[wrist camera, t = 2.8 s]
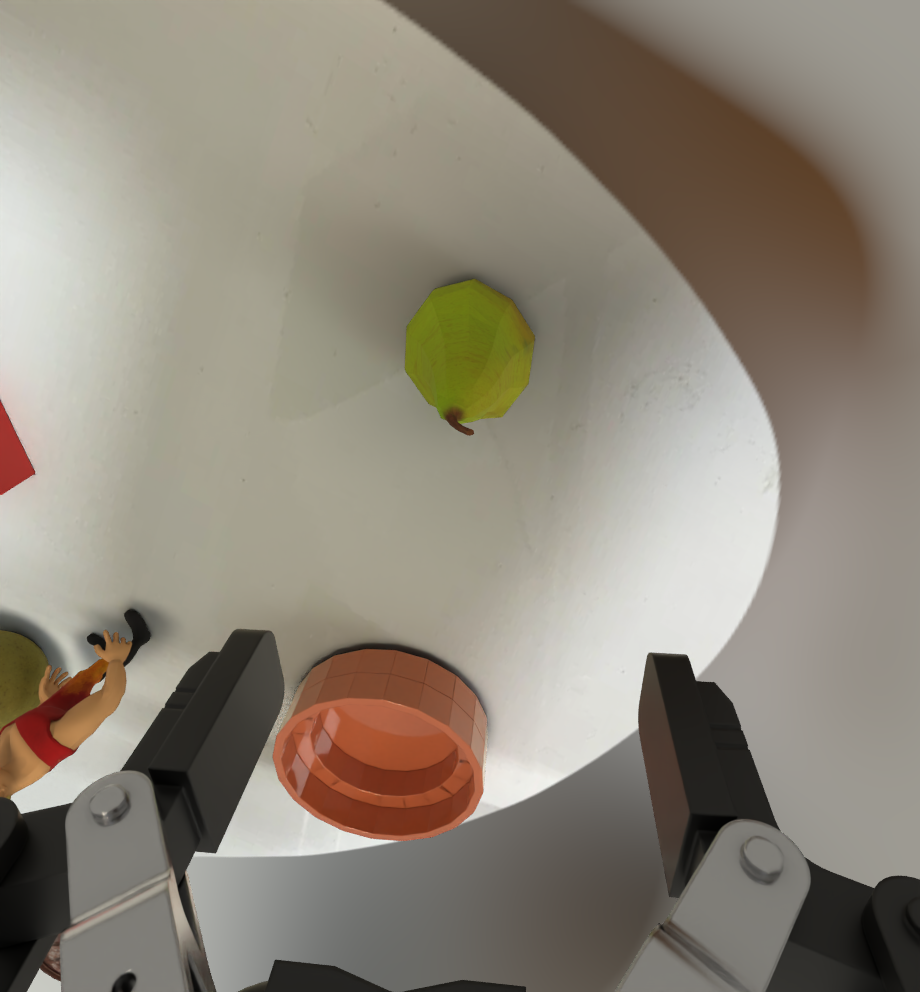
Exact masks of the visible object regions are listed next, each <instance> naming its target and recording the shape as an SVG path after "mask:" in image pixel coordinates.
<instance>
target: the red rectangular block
mask: <svg viewBox="0 0 920 992" xmlns="http://www.w3.org/2000/svg"><path fill="white" fill-rule="evenodd" d="M33 474H35V472H34V470H33V468H32V466H31V463H30V461H29V459H28V457H27V455H26V453H25V451H24V449H23V447H22V445H21V443H20V441H19V439H18V437H17V435H16V432H15V430H14V428H13V426H12V424H11V422H10V420H9V418H8V416H7V414H6V412H5V410H4V408H3V406H2V404H1V401H0V495H2V494H4V493H5V492H7V491H8V490H10V489H11V488H13V487H15V486H16V485H18V484H19V483H21V482H22V481H24V480H25V479H27V478H29V477H30V476H32V475H33Z"/></svg>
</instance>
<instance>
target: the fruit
mask: <svg viewBox="0 0 920 992" xmlns="http://www.w3.org/2000/svg"><path fill="white" fill-rule="evenodd" d="M534 340H535V336H534V334H533V332H532V331H531V329H530V328H529V326H528V324H527V323H526V321H525V320H524V318H523V316H522V315H521V313H520V312H519V310H518V308H517V307H516V305H515V304H514V302H513V300H511V299H510V298H508V297H506V296H504V295H503V294H501V293H499V292H497V291H496V290H494V289H492V288H490V287H489V286H487V285H485V284H483V283H482V282H480V281H478V280H476V279H472V280H468V281H464V282H460V283H456V284H452V285H448V286H444V287H440V288H436V289H434V290H433V291H432V292H431V294H430V295H429V296H428V298H427V299H426V301H425V302H424V303H423V305H422V306H421V307H420V309H419V310H418V312H417V313H416V314H415V316H414V317H413V318H412V320H411V321H410V323H409V324H408V325H407V329H406V353H405V371H406V373H407V374H408V375H409V377H410V378H411V380H412V381H413V383H414V384H415V385H416V387H417V388H418V390H419V391H420V392H421V394H422V395H423V397H424V398H425V399H426V401H427V402H428V404H430V405H432V406H434V407H436V408H437V410H438V412H439V414H440V417H441V418H442V419H445V420H447V422H448V423H449V424H450V425H451V426H452V427H454V428H455V429H456V430H458V431H460V432H462V433H464V434H466V435H473V434H474V431H473V430H472V429H469V428H466V427H464V426H462V425H461V424H462V423H469V422H473V421H476V420H479V419H485V418H498V417H503V415H504V414H505V413H506V411H507V410H508V409H509V408H510V406H511V405H512V404H513V403H514V401H515V400H516V399H517V397H518V396H519V395H520V394H521V392H522V391H523V390H524V389H525V387H526V386H527V385H528V383H529V376H530V369H531V361H532V354H533V347H534Z"/></svg>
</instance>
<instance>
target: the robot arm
mask: <svg viewBox="0 0 920 992" xmlns="http://www.w3.org/2000/svg"><path fill="white" fill-rule="evenodd" d="M283 698H284V679H283V674H282V669H281V665H280V660H279V655H278V651H277V646H276V641H275V637H274V634H273V633H272V632H271V631H265V630H246V629H236V630H235V631H233V632H232V634H231V635H230V637H229V638H228V640H227V642H226V643H225V645H224V646H223V648H222V650H221V651H220V652H208V653H207V654H206V655H205V656H204V657H202V658H201V659H200V660H199V661H197V662H196V663H195V664H194V665H192V666H191V667H190V668H189V669H188V670H187V672H186V673H185V675H184V677H183V678H182V680H181V681H180V683H179V684H178V686H177V687H176V691H175V692H173V693H172V695H171V696H170V698H169V699H168V701H167V702H166V704H165V708H162V710H161V711H160V713H159V714H158V716H157V717H156V719H155V720H154V722H153V723H152V725H151V726H150V728H149V729H148V731H147V732H146V734H145V735H144V737H143V738H142V740H141V741H140V743H139V744H138V746H137V747H136V749H135V750H134V752H133V753H132V755H131V756H130V758H129V759H128V761H127V762H126V764H125V765H124V767H123V768H122V769H121V771H120V772H116V773H112V774H110V775H107V776H105V777H103V778H101V779H99V780H97V781H95V782H94V783H92V784H91V785H90V786H88V787H87V788H86V789H85V790H83V791H82V792H81V793H80V794H79V795H78V797H77V798H76V799H75V800H74V802H73V803H69V804H65V805H61V806H56V807H52V808H47V809H42V810H38V811H33V812H28V813H24V814H21V813H20V811H19V810H18V808H17V806H16V805H15V803H14V802H13V801H11V800H10V799H8V798H5V797H0V992H27V990H28V988H29V987H30V985H31V983H32V981H33V979H34V978H35V976H36V974H37V972H38V970H39V968H40V967H41V965H42V963H43V961H44V959H45V958H46V956H47V954H48V952H49V950H50V949H51V947H52V945H53V943H54V941H55V939H56V938H57V936H58V934H61V937H60V968H61V992H216V989H215V985H214V982H213V979H212V976H211V973H210V969H209V965H208V961H207V957H206V952H205V948H204V944H203V940H202V935H201V931H200V926H199V922H198V917H197V912H196V908H195V904H194V899H193V895H192V890H191V886H190V881H189V877H188V874H187V871H186V869H187V867H188V865H189V863H190V861H191V859H192V857H193V855H194V853H195V851H196V852H207V853H216V852H217V850H218V847H219V845H220V843H221V841H222V839H223V836H224V834H225V832H226V830H227V827H228V825H229V823H230V821H231V819H232V816H233V814H234V812H235V810H236V808H237V805H238V803H239V801H240V799H241V796H242V794H243V792H244V790H245V788H246V785H247V783H248V781H249V779H250V777H251V774H252V772H253V770H254V768H255V765H256V763H257V761H258V759H259V757H260V754H261V752H262V750H263V748H264V746H265V743H266V741H267V739H268V737H269V734H270V732H271V730H272V728H273V726H274V723H275V721H276V719H277V717H278V714H279V712H280V710H281V707H282V703H283ZM638 723H639V734H640V741H641V746H642V752H643V756H644V762H645V767H646V773H647V779H648V784H649V789H650V795H651V800H652V806H653V811H654V817H655V822H656V828H657V833H658V838H659V844H660V849H661V855H662V860H663V866H664V871H665V877H666V882H667V887H668V893H669V897H676V898H679V899H678V901H677V902H676V904H675V906H674V907H673V909H672V911H671V912H670V914H669V916H668V917H667V919H666V920H665V922H664V923H663V924H660V923H659V924H658V925H656V927H655V928H654V929H653V930H652V932H651V933H650V934H649V936H648V938H647V939H646V941H645V943H644V944H643V946H642V947H641V949H640V951H639V952H638V954H637V956H636V957H635V959H634V961H633V962H632V964H631V965H630V968H629V969H628V971H627V972H626V974H625V975H624V977H623V979H622V980H621V982H620V984H619V985H618V987H617V989H616V990H615V992H920V880H919V879H916V878H912V877H907V876H891V877H888V878H885V879H883V880H882V881H880V882H879V883H878V884H877V886H876V887H875V888H872V887H870V886H867V885H864V884H861V883H859V882H856V881H854V880H851V879H848V878H846V877H843V876H841V875H837V874H835V873H833V872H830V871H828V870H826V869H823V868H821V867H819V866H818V865H816V864H814V863H812V862H811V861H810V860H808V859H807V858H805V857H804V856H803V854H802V852H801V851H800V850H799V848H798V847H797V846H796V845H795V844H794V842H793V841H792V840H791V839H790V838H788V837H787V836H786V835H785V834H784V833H782V832H781V831H780V829H779V827H778V826H777V823H776V821H775V819H774V816H773V813H772V810H771V808H770V805H769V802H768V799H767V797H766V794H765V792H764V788H763V785H762V783H761V780H760V778H759V775H758V772H757V769H756V766H755V764H754V761H753V758H752V755H751V752H750V750H748V744H747V741H746V739H745V736H744V734H743V731H742V730H741V725H740V722H739V719H738V717H737V714H736V711H735V709H734V706H733V703H732V702H731V701H730V699H729V698H728V697H727V696H726V695H725V694H724V693H723V692H722V690H721V689H720V688H719V687H718V686H717V685H716V683H714V682H700V681H696V680H695V676H694V673H693V670H692V667H691V664H690V661H689V658H688V656H687V655H685V654H667V653H648V655H647V659H646V665H645V671H644V677H643V683H642V690H641V696H640V702H639V711H638ZM238 992H391V991H388V990H386V989H384V988H381V987H380V986H377V985H375V984H373V983H371V982H369V981H366V980H364V979H362V978H360V977H358V976H355V975H353V974H351V973H349V972H346V971H344V970H342V969H340V968H338V967H335V966H329V965H319V964H310V963H301V962H291V961H282V960H275V961H274V965H273V968H272V971H271V974H270V977H269V980H268V981H266V982H261V983H258V984H255V985H253V986H250V987H247V988H244V989H242V990H240V991H238ZM405 992H526V987H523V986H514V985H505V984H496V983H486V982H476V981H468V980H460V981H455V982H449V983H444V984H439V985H435V986H429V987H424V988H419V989H414V990H409V991H405Z"/></svg>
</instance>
